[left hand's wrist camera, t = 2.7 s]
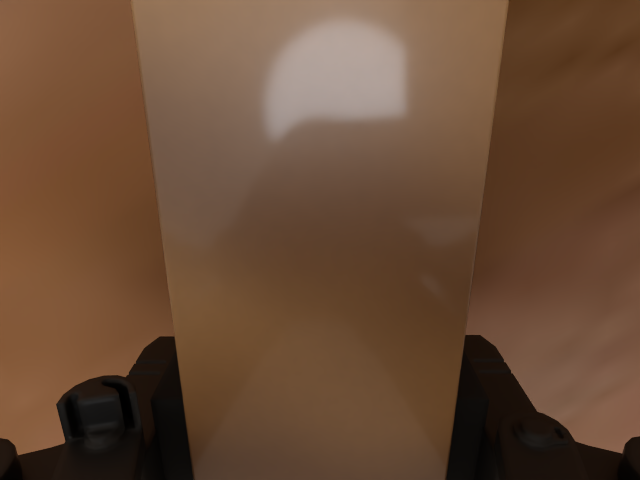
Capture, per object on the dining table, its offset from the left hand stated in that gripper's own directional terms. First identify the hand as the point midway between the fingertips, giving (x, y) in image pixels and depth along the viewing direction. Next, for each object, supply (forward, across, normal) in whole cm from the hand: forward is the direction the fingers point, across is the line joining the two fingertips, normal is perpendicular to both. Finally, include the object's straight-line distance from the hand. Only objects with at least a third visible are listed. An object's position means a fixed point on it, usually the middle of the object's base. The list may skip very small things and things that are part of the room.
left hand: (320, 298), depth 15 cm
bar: (+1, 0, -35) cm, 35 cm away
